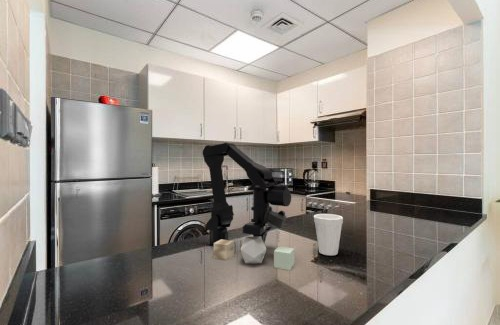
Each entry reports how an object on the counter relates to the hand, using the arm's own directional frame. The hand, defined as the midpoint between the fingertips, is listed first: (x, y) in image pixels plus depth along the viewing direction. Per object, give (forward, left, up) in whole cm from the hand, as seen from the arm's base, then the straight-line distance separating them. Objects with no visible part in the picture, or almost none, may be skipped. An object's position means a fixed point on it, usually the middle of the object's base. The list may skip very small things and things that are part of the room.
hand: (261, 248), depth 85 cm
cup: (+21, +11, -2) cm, 24 cm away
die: (0, -7, -2) cm, 7 cm away
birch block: (-11, -7, -2) cm, 13 cm away
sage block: (+10, -6, -2) cm, 12 cm away
